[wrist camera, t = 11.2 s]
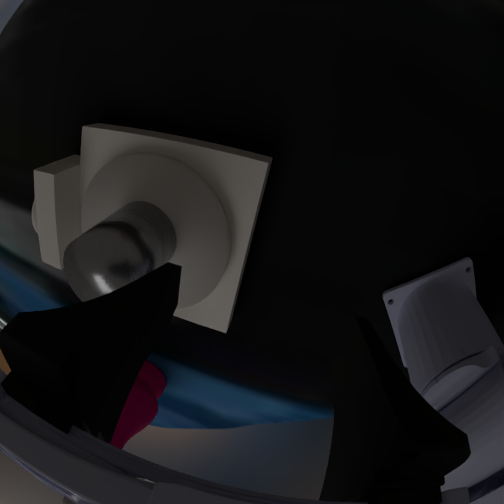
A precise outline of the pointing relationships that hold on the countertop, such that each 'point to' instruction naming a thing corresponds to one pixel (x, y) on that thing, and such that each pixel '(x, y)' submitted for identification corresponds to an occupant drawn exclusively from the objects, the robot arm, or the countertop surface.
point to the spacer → (119, 250)
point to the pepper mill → (138, 407)
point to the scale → (161, 206)
